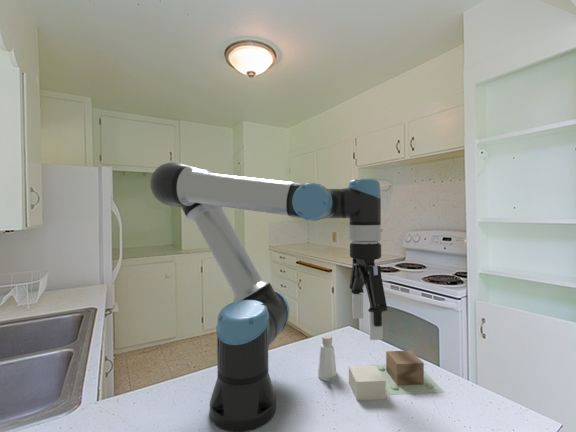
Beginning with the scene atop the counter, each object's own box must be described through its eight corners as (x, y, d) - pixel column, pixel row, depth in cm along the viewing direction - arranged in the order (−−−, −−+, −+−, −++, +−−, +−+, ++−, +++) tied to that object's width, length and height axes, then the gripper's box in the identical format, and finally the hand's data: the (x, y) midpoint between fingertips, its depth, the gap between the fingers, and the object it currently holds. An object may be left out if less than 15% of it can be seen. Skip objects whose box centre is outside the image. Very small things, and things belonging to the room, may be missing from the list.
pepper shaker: (323, 383, 79) (323, 341, 79) (314, 373, 84) (313, 334, 84) (341, 379, 81) (340, 338, 81) (330, 369, 86) (330, 331, 86)
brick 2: (397, 385, 76) (397, 364, 76) (386, 370, 83) (386, 351, 83) (423, 384, 76) (423, 363, 76) (410, 370, 83) (410, 350, 83)
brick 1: (356, 405, 70) (356, 381, 70) (348, 387, 77) (348, 366, 77) (385, 403, 70) (385, 380, 70) (375, 386, 77) (375, 365, 77)
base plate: (389, 398, 72) (389, 393, 72) (369, 368, 86) (369, 363, 86) (444, 396, 73) (444, 390, 73) (416, 366, 87) (416, 362, 87)
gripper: (403, 247, 61) (404, 349, 62) (363, 237, 86) (364, 310, 86) (367, 248, 61) (368, 351, 61) (338, 238, 86) (339, 311, 86)
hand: (366, 327), depth 74 cm, fingers open, 13 cm apart
